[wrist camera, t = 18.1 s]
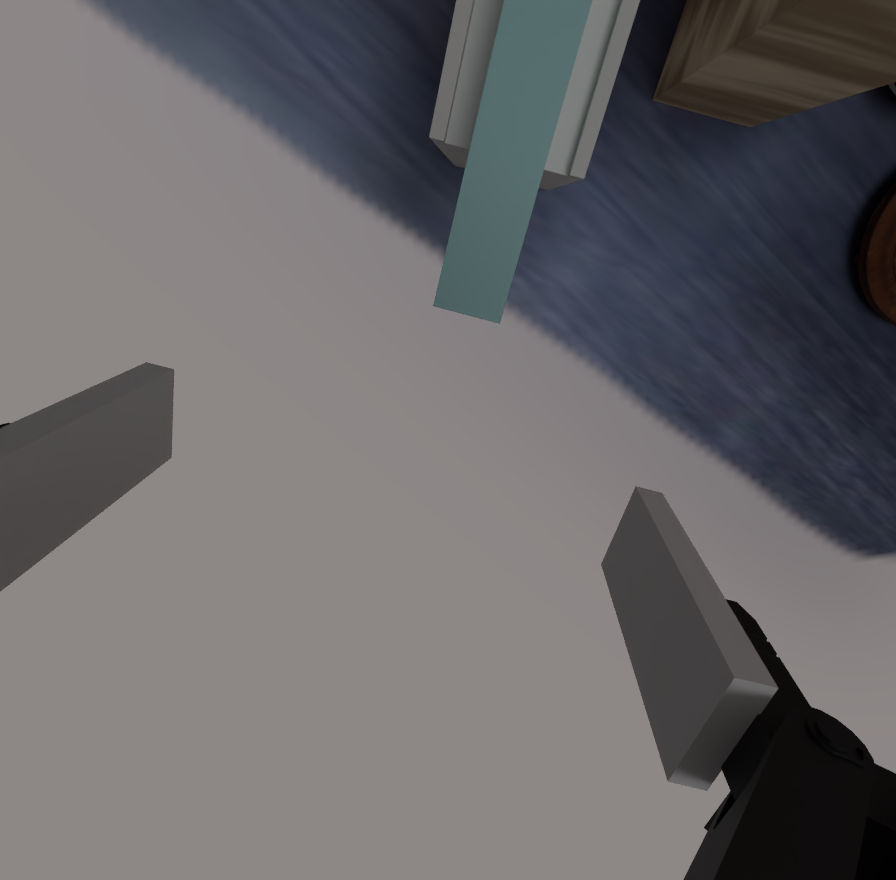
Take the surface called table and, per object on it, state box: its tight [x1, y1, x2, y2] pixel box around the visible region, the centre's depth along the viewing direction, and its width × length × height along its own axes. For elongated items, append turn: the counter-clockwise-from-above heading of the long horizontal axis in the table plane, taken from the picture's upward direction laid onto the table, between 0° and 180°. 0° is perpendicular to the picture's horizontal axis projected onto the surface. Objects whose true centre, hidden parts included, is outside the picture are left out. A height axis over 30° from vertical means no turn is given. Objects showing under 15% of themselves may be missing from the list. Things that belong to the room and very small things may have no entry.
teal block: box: [433, 0, 592, 323], centre depth 24 cm, size 22×4×4 cm, turn 166°
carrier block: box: [429, 0, 640, 190], centre depth 32 cm, size 16×8×20 cm, turn 166°
